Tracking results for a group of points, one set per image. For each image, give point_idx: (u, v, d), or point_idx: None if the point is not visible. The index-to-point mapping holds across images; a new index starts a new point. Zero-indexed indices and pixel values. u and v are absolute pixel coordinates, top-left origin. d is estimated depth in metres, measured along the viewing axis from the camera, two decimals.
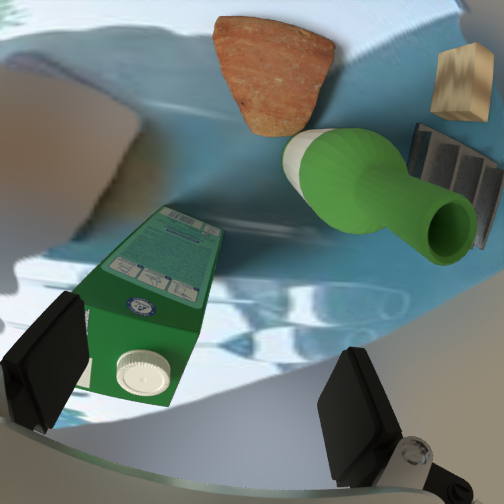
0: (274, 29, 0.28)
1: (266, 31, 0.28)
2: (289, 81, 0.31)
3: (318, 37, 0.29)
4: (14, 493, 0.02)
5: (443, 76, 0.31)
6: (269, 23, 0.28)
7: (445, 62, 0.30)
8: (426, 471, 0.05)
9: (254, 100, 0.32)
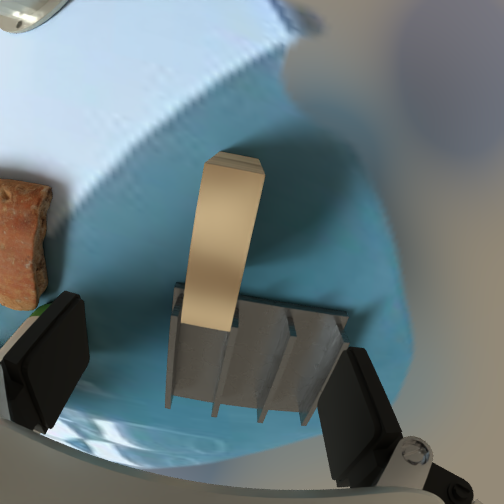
0: None
1: None
2: (3, 263, 0.23)
3: (20, 196, 0.22)
4: (14, 493, 0.02)
5: None
6: None
7: None
8: (426, 471, 0.05)
9: None
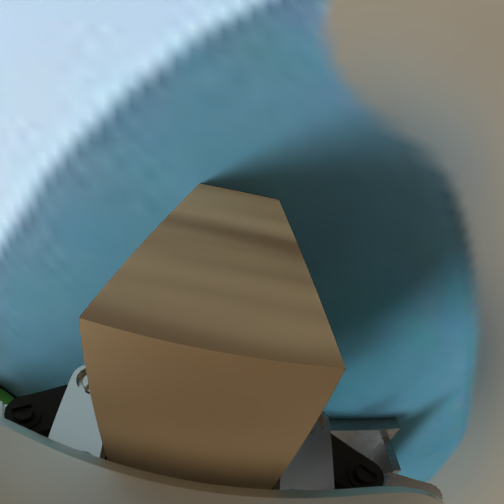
0: None
1: None
2: None
3: None
4: (14, 493, 0.02)
5: None
6: None
7: None
8: (327, 434, 0.07)
9: None
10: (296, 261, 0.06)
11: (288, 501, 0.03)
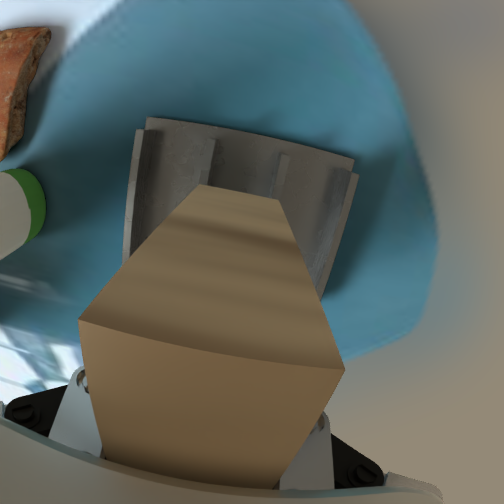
0: None
1: None
2: None
3: (20, 33, 0.16)
4: (14, 493, 0.02)
5: None
6: None
7: None
8: (327, 434, 0.07)
9: None
10: (296, 262, 0.06)
11: (288, 501, 0.03)
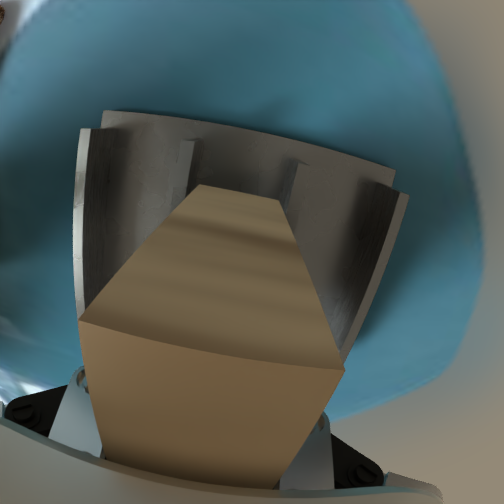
0: None
1: None
2: None
3: None
4: (14, 493, 0.02)
5: None
6: None
7: None
8: (327, 434, 0.07)
9: None
10: (296, 262, 0.06)
11: (288, 501, 0.03)
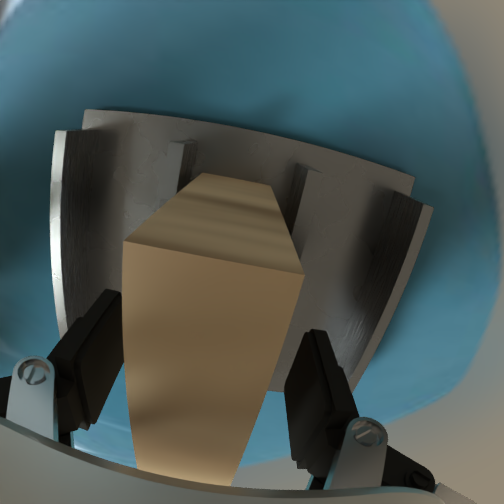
0: None
1: None
2: None
3: None
4: (14, 493, 0.02)
5: None
6: None
7: None
8: (383, 450, 0.06)
9: None
10: (278, 222, 0.08)
11: (288, 501, 0.03)
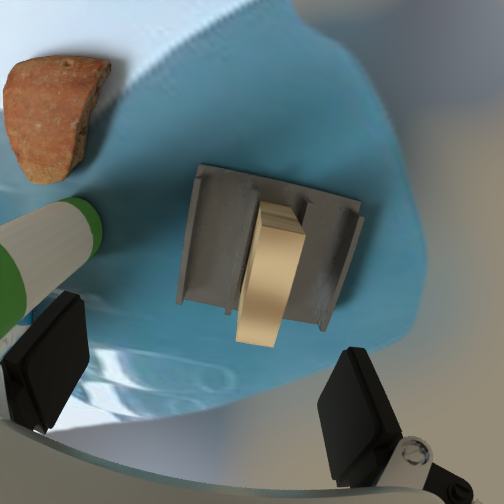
0: (41, 68, 0.23)
1: (34, 73, 0.23)
2: (47, 124, 0.25)
3: (83, 63, 0.24)
4: (14, 493, 0.02)
5: (250, 249, 0.30)
6: (40, 62, 0.23)
7: (255, 226, 0.29)
8: (426, 471, 0.05)
9: (23, 151, 0.26)
10: (297, 223, 0.25)
11: (288, 501, 0.03)
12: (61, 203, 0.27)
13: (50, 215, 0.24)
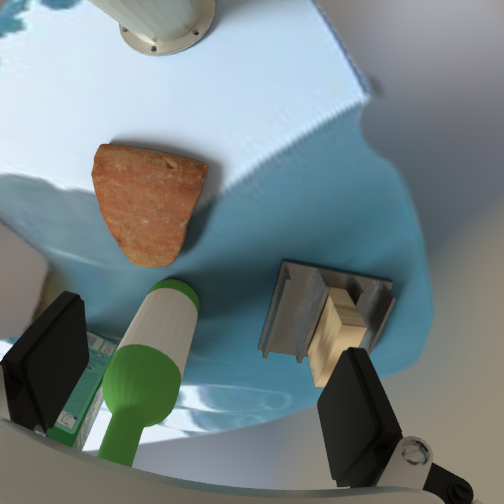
0: (141, 165, 0.33)
1: (133, 169, 0.33)
2: (155, 222, 0.36)
3: (186, 167, 0.34)
4: (14, 493, 0.02)
5: (318, 321, 0.42)
6: (137, 157, 0.33)
7: (324, 306, 0.41)
8: (426, 471, 0.05)
9: (127, 239, 0.37)
10: (357, 313, 0.36)
11: (288, 501, 0.03)
12: (171, 291, 0.38)
13: (172, 308, 0.35)
